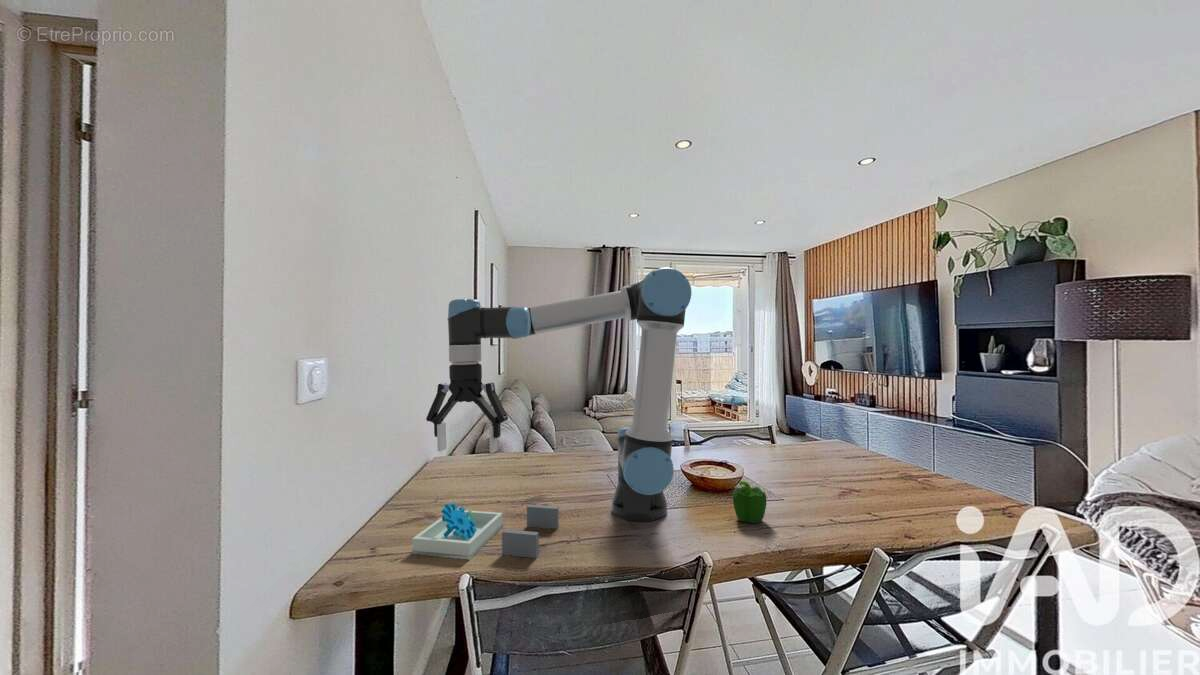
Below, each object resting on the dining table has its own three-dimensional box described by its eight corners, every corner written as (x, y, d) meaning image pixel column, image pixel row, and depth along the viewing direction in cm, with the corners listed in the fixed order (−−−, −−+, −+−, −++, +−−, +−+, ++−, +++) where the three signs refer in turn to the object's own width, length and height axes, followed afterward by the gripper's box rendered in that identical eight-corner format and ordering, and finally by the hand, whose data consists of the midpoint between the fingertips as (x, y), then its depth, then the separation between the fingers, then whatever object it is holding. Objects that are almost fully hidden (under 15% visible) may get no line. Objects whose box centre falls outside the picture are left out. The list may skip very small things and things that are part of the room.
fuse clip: (558, 526, 111) (558, 506, 111) (536, 558, 95) (536, 535, 95) (529, 524, 113) (528, 504, 113) (502, 554, 97) (501, 532, 97)
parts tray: (503, 526, 112) (502, 512, 112) (470, 559, 95) (469, 543, 95) (453, 522, 114) (452, 509, 114) (412, 554, 98) (412, 538, 98)
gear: (464, 541, 98) (438, 506, 101) (446, 559, 98) (420, 524, 101) (486, 527, 109) (462, 496, 111) (470, 543, 109) (446, 512, 112)
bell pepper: (769, 517, 116) (768, 479, 116) (764, 529, 108) (764, 488, 108) (736, 511, 120) (735, 474, 120) (730, 522, 112) (729, 483, 112)
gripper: (519, 361, 108) (521, 448, 107) (427, 363, 112) (429, 445, 112) (507, 363, 100) (509, 456, 100) (409, 364, 105) (411, 453, 105)
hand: (467, 450), depth 106 cm, fingers open, 13 cm apart
